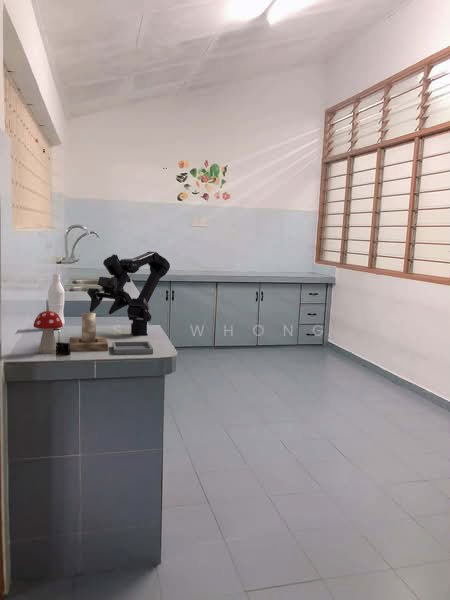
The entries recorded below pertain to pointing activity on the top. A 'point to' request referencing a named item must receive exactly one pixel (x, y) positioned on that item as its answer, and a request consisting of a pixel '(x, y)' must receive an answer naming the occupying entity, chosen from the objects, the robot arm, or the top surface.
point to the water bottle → (56, 297)
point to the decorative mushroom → (47, 330)
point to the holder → (88, 344)
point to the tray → (132, 348)
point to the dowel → (88, 327)
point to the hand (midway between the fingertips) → (99, 312)
